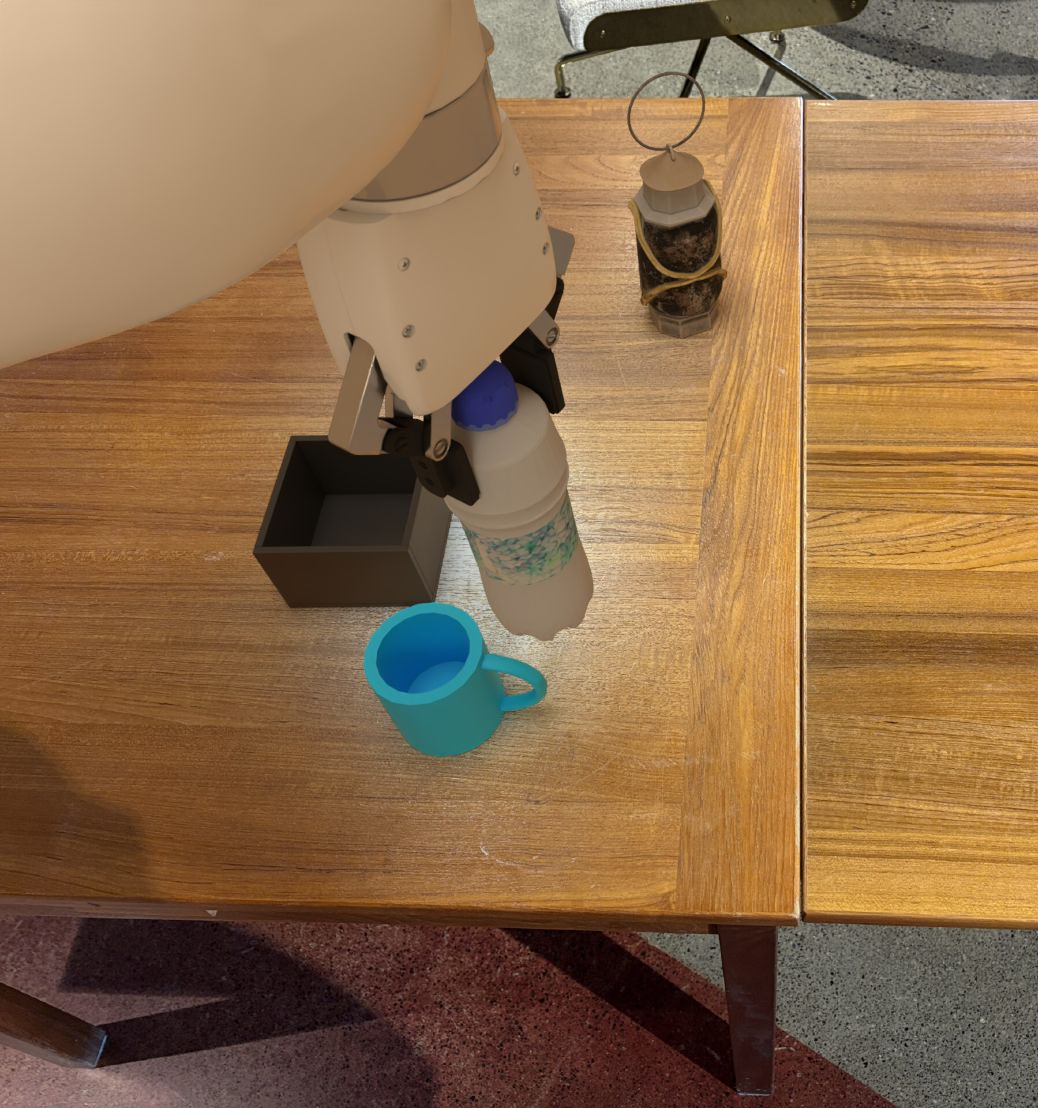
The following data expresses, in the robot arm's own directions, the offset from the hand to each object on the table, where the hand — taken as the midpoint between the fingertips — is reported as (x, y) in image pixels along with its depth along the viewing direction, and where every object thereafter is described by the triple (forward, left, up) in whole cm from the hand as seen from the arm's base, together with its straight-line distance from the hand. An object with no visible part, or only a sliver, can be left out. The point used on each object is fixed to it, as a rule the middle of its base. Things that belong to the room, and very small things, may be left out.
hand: (496, 443), depth 53 cm
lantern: (+41, +17, -32) cm, 55 cm away
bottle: (0, 0, -15) cm, 15 cm away
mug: (-3, +8, -32) cm, 33 cm away
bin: (+5, +25, -31) cm, 40 cm away
